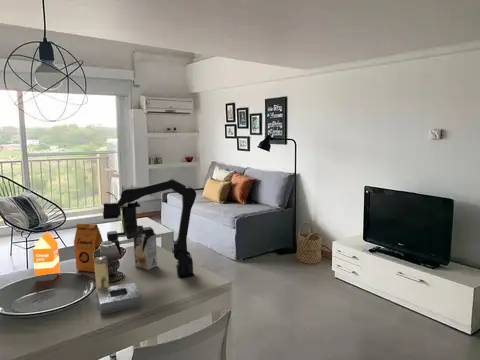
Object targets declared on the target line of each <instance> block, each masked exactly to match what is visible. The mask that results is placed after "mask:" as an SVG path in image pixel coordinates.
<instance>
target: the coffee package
mask: <svg viewBox="0 0 480 360" xmlns="http://www.w3.org/2000/svg"><path fill="white" fill-rule="evenodd" d="M75 228H76V229H75V230H76V231H75V235H74V239H73V247H74V254H75V256H74V257H75V265H76V266H75V267H76V268H75V270H76V271H84V272H85V271H86V272H90V273H95V263H94V258H93V253H94V251H96V250H97V249H98V247H99V246H100V244H101V242H103V243H104V241H103V237H102V234H101V231H100V228H99V226H98V224H93V223H76V225H75Z"/></svg>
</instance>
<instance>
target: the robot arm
mask: <svg viewBox="0 0 480 360" xmlns="http://www.w3.org/2000/svg"><path fill="white" fill-rule="evenodd" d="M167 190H173V191H174V192H176V193H178V194H179V195H181V202H182V204H181V206H182V207H181V213H180V214H181V215H180V219H179V228H178V233H177V238H176V240H173V241H172V247H171V252H172V254H173V256H174V258H175V261H176V260H177V264H176V265H175V270H176V275H177V276H178V278H180V279H183V278H190V277H193V276H195V273H194V263H193V262H194V261H193V258H192V255H191V253H190V252H189V251H188V244H187V243H188V241H187V239H188V234H189V233H188V231H189V225H190V218H191V214H192V213H191V212H192V208H193V205H194V204H195V200H196V199H197V192H196V190H195V189H194V187H192V186H191V185H187V186H186V185H184V184H183V183H180V182H178V181H177V180H176V179H174V178H169V179H167V180H162V181H158V182H155V183H151V184H148V185H147V184H146V185H143V186H130V187H129V186H127V187H125V188H123V189H122V191H121V194H120V198H119V199H118V200H117V202H104V203H103V213H102V215H103V217H102V218H103V220H114V219H116V220H117V219H119V217H121V216H122V227H123V228H122V229H123V232H118V231H117V230H113V231H112V230H111V231H107V232H106V237H107V241H108V242H111V243H112V244H113V243H114V244H115V247H116V248H117V251H118V253H119V256H122V250H121V244H120V240H119V238H124V237H125V238H126V239H127V240H132V239H133V240H134V238H136V239H137V238H139V235H142V252H144V248H145V245H146V242H147V240H148V239H149V238H151V236H154V233H155V231H154V228H153V227H151V226H147V227H146V226H145V227H144V226H143V225H138V217H137V208H140V207H141V205H142V204H141V203H140V202H139V201H138V200H140V199H141V198H143V197H146V196H148V195H149V196H150V195H153V194H156V193H157V194H158V193H161V192H163V191H167Z"/></svg>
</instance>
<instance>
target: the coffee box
mask: <svg viewBox="0 0 480 360" xmlns="http://www.w3.org/2000/svg"><path fill="white" fill-rule="evenodd" d="M156 235H157V234H156V233H155V232H154V236H151V238H149V239H148V240H147V242H146V245H145V248H144V252H142V235H139V238H137V239H136V238H133V251H134V267H137V268H140V269H144V270H147V271H148V270H151V269H153V268H155V267H157V266H158V259H157V258H158V257H157V253H158V252H157V236H156Z"/></svg>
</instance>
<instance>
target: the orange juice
mask: <svg viewBox="0 0 480 360" xmlns="http://www.w3.org/2000/svg"><path fill="white" fill-rule="evenodd" d="M58 245H59V244H58V241H57V240H56V239H55V238H54V236H52V234H51V233H50V232H49V231H46V232H45V233H43V234H42V235H41V236H40V238H39V239H38V241H37V243H36V244H35V246H34V247H33V249H32V257H33V259H32V260H33V269H34V275H35V276H39V275H46V274H54V273H59V272H60V273H61V267H60V255H59V246H58ZM35 276H34V277H35Z"/></svg>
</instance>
